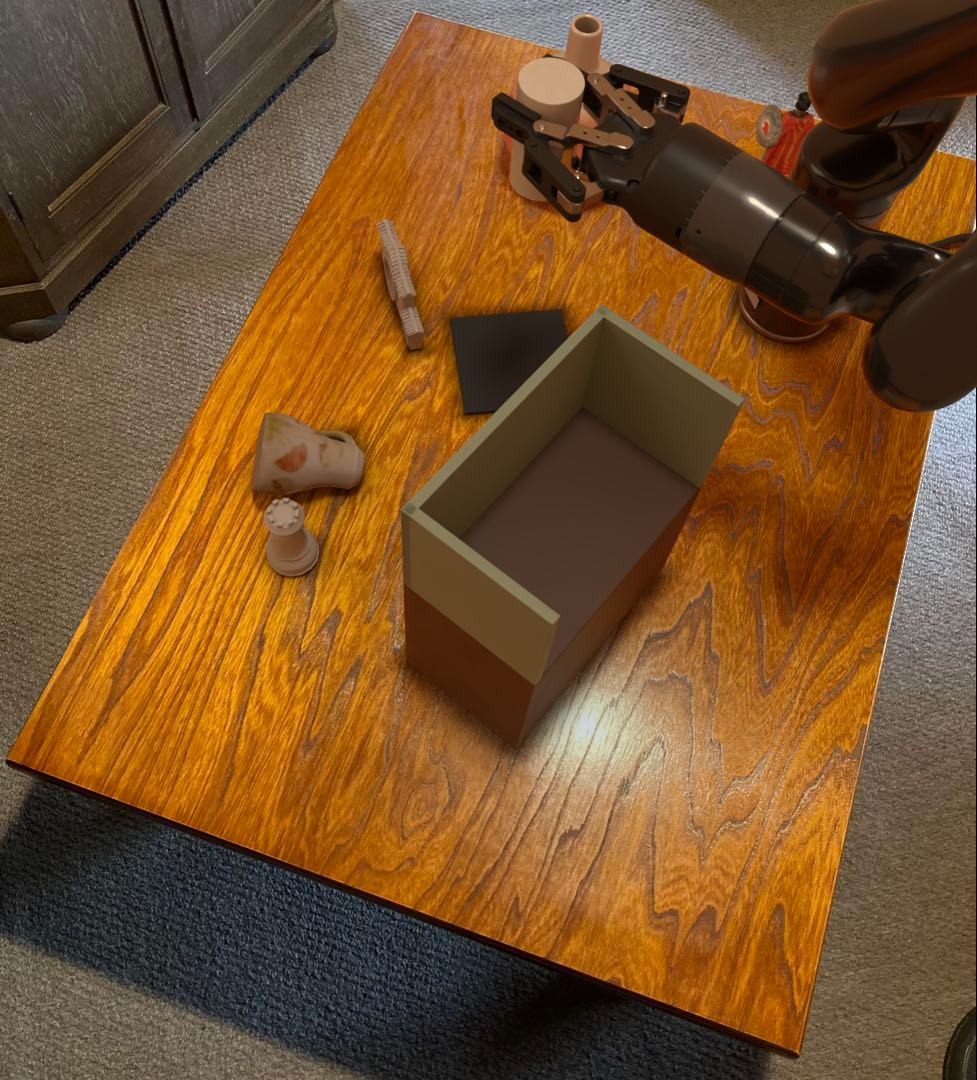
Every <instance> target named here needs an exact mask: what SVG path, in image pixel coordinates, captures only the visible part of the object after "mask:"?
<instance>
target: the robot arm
mask: <svg viewBox="0 0 977 1080" xmlns="http://www.w3.org/2000/svg"><path fill="white" fill-rule="evenodd" d="M541 58H558V59H562V60H565V59H563V58H560V57H556V56H555V57H554V56H552V55H551V54H550V53H545V54H544V55H543V56H542V57H541ZM565 61H566V60H565ZM576 67H577V66H576ZM577 68H578V67H577ZM578 69H579V70H580V71H581V73H582V74H583V76H584V79H585V89H584V95H583V101H582V103H583V108H584V110H585V111H586V112H587V113H588V114H589V115H590V116H591V117H592V118H593V119H594V121H595V122H596V123H597V125H598V126H596V127H594V128H590V127H587V126H584V125H580V124H577V123H573V124H571V125H570V126H563V125H560V124H557V123H553V122H550V121H547V120H543V119H541V115H540V114H538V113H537V112H535V111H533V110H531V109H529V108H528V107H527V106H525V105H523V104H522V103H520V102H518V101H517V100H515V99H513V98H512V97H510V95H508V94H506V93H505V92H503V91H500V92H498V93H497V94H496V95H495V96H494V97H492V99H491V109H490V110H491V111H490V116H491V117H490V118H491V120H492V121H493V122H492V124H493V125H494V127H495V128H496V129H497V130H499V131H500V132H501V133H503V134H504V133H505V134H507V135H509V136H510V137H511V138H513V139H515V140H516V141H518V142H519V143H521V144H523V145H524V158H523V164H522V174H523V175H524V176H525V178H526V179H527V180H528V181H529V182H530V183H531V184H532V185H533V186H534V187H535V188H536V189H537V190H538V191H539V192H540V193H541V194H542V195H543V196H544V197H545V198H546V199H547V200H548V201H547V202H549V204H550V205H551V206H552V207H553V208H554V209H555V210H556V212H558V213H559V214H560V215H561V216H562V217H563V218H564V220H565V221H567V222H569V223H577V222H579V221H580V220H581V219H582V217H583V216H582V215H583V212H584V210H585V209H587V208H589V207H591V206H593V205H595V204H597V203H598V202H601V203H603V204H606V205H612V206H616V207H618V208H622V209H623V210H625V211H626V213H627V214H628V216H629V217H630V218H631V220H632V222H633V223H634V224H635V225H636V226H637V227H638V228H640V229H641V230H643V231H645V232H646V233H647V234H649V235H651V236H653V237H654V238H656V239H658V240H659V241H660V242H663V243H664V244H666V245H667V246H669V247H670V248H672V249H673V250H675V251H677V252H679V253H680V254H682V255H683V256H685V257H687V258H688V259H690V260H691V261H693V262H694V263H697V265H700V266H701V267H703V268H704V269H706V270H707V271H709V272H711V273H713V274H714V275H716V276H718V277H720V278H723V279H724V280H727V281H730V282H732V283H734V284H737V285H738V286H740V288H739V291H738V306H739V310H740V313H741V314H742V316H743V318H744V320H745V321H746V322H747V323H748V325H749V326H751V327H752V329H754V330H755V331H757V332H758V333H760V334H761V335H762V336H764V337H767V338H769V339H771V340H774V341H778V342H783V343H790V344H791V343H793V344H794V343H797V344H798V343H803V342H807V341H811V340H813V339H815V338H817V337H819V336H820V335H821V334H823V332H825V330H826V329H827V328H830V327H836V326H837V325H838V324H839V322H840V320H841V318H842V317H852V318H855V319H858V320H861V321H863V322H866V323H869V324H872V326H871V327H870V329H869V331H868V333H867V335H866V337H865V339H864V342H863V345H862V351H861V359H860V360H861V372H862V375H863V378H864V381H865V383H866V386H867V387H868V389H869V390H870V391H871V393H872V394H873V395H874V396H875V398H877V399H878V400H879V401H880V402H881V403H883V404H885V405H886V406H889V407H891V408H893V409H895V410H898V411H901V412H907V413H914V414H917V413H919V414H920V413H930V412H935V411H939V410H942V409H946V408H948V407H950V406H951V405H954V404H956V403H958V402H960V401H961V400H962V399H964V398H965V397H966V396H968V395H969V394H970V393H972V392H973V391H974V390H975V389H976V388H977V226H976V227H975V229H974V230H973V231H972V233H971V232H965V233H960V234H959V233H958V234H955V235H951V236H949V237H945V238H943V239H939V240H937V241H934V242H931V243H928V244H926V243H923V242H920V241H917V240H914V239H911V238H908V237H904V236H902V235H898V234H896V233H891V232H888V231H883V230H880V229H881V227H882V225H883V224H884V222H885V220H886V218H887V216H888V214H889V212H890V210H891V208H892V207H893V205H894V204H895V201H896V200H897V198H898V196H899V195H900V193H902V192H903V191H904V190H906V189H907V188H908V187H909V186H911V185H912V184H913V183H914V182H915V181H916V180H917V179H918V178H919V177H920V175H921V174H922V172H923V171H924V169H925V168H926V166H927V164H928V163H929V161H930V160H931V158H932V157H933V155H934V154H935V152H936V150H937V149H938V147H939V146H940V144H941V143H942V141H943V140H944V138H945V136H946V135H947V133H948V132H949V130H950V129H951V127H952V125H953V124H954V122H955V121H956V119H957V117H958V116H959V114H960V112H961V111H962V110H963V107H964V105H965V102H966V101H967V99H968V98H969V96H977V0H872V1H868V2H865V3H860V4H857V5H852V6H850V7H847V8H846V9H843V10H842V11H840V12H839V13H838V14H837V15H835V17H833V18H832V19H831V20H830V21H829V22H828V23H827V24H826V26H825V27H824V29H823V30H822V31H821V33H820V34H819V36H818V38H817V40H816V42H815V45H814V47H813V49H812V52H811V55H810V58H809V62H808V67H807V76H806V78H807V79H806V80H807V83H806V84H807V92H808V93H809V97H810V100H811V106H812V107H813V110H814V111H815V113H816V114H817V116H818V117H819V119H821V121H818V123H816V124H814V127H813V128H812V129H811V130H810V131H809V132H808V133H807V134H806V136H805V137H804V139H803V141H802V143H801V145H800V147H799V149H798V152H797V154H796V157H795V159H794V161H793V164H792V166H791V169H790V171H789V174H788V176H787V177H786V176H785V175H783V174H782V173H781V172H779V171H778V170H776V169H774V168H773V167H771V166H769V165H768V164H766V163H764V162H762V161H761V159H759V158H758V157H756V156H754V155H752V154H750V153H749V152H747V151H745V150H744V149H742V148H740V147H738V146H737V145H735V144H733V143H731V142H730V141H729V140H726V139H724V138H723V137H721V136H719V135H718V134H717V133H714V132H713V131H711V130H709V129H708V128H706V127H704V126H702V125H700V124H699V123H696V122H694V121H693V122H686V123H683V122H684V119H685V116H686V115H685V114H686V111H687V108H688V103H689V101H690V96H691V89H690V88H689V87H687V86H686V85H683V84H680V83H677V82H674V81H671V80H669V79H665V78H662V77H659V76H658V75H653V74H651V73H647V72H645V71H643V70H639V69H635V68H632V67H630V66H627V65H625V64H621V63H614V64H613V65H612V66H611V67H610V70H609V72H607V73H605V74H602V75H601V74H599V73H591V74H589V73H587V72H585V71H583V70H582V69H580V68H578ZM624 84H626V85H629V86H631V88H636V89H637V91H638V94H637V93H636V92H635V93H634V92H633V93H632V92H629V91H626V90H623V87H624ZM549 140H550V141H554V142H557V143H560V144H562V146H563V149H562V148H559V147H556V146H552V145H549ZM578 144H581V145H583V150H582V156H581V159H580V158H579V157H578V156H577V148H578ZM583 179H584V180H587V181H589V182H586V181H584V180H583ZM961 242H964V243H963V244H962V245H961V246H960V247H959V248H958V249H957V250H956V251H955V252H954V253H953V252H950V251H947V250H945V249H942V248H945V247H947V246H950V245H954V244H958V243H961Z"/></svg>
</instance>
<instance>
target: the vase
mask: <svg viewBox="0 0 977 1080" xmlns="http://www.w3.org/2000/svg"><path fill="white" fill-rule="evenodd" d="M568 29H569V30H568V34H567V41H566V47H565V50H563V51H562V50H561V51H558V52H554V53H551V54H550V55H552V56H554V57H555V56H556V57H560V58H563V59H565V60H566V61H568V62H570V63H571V64H573V65H575V66H577V67H578V68H580V69H582V70H583V71H585V72H587V73H589V74H591V73H599V74H601V75H602V74H605V73H607V72H609V70H610V67H611V66H612V65H614V64H613V63H612V62H610V61H609V60H607V59H606V58H604V57H603V56H600V54H601V48H602V42H603V41H602V40H603V35H604V23H603V22H602V20H601V19H600V18H599V17H598V16H596V15H593V14H590V13H582V14H578V15H576V16H574V17H573V18H572V19H571V21H570V24H569V28H568ZM517 85H518V80H517V82H516V83H515V84H514V86H513V88H512V90H511V92H510V94H509V96H510V97H512V98H513V99H515V100H516V96H517ZM632 88H633V87H632V86H629V85H626V84H624V87H623V90H626V91H629V92H632V93H634V91H633V89H632ZM579 124H580V125H584V126H587V127H590V128H594V127H596V126H598V125H597V123H596V122H595V121H594V119H593V118H592V117H591V116H590V115H589V114H588V113H587V112H586V111H585V110H584V108H583V103H582V107H581V114H580V120H579ZM503 139H504V143H505V147H506V150H507V152H508V155H509V157H510V158H511V150H512V139H513V138H511V137H510V136H509V135H507V134H505V133H504V132H503ZM582 150H583V145H581V144H578V148H577V156H578V157H579V158H580V159H581V156H582ZM583 180H584V179H583ZM584 181H586V182H589V181H587V180H584Z"/></svg>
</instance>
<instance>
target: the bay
mask: <svg viewBox="0 0 977 1080" xmlns="http://www.w3.org/2000/svg"><path fill="white" fill-rule="evenodd" d="M745 399H746V398H744V397H743V396H742V395H740V394H739V393H737V392H736V391H734V390H732V389H731V388H729V387H728V386H727V385H725V384H723V383H722V382H721V381H719V380H717V379H716V378H714V377H713V376H711V375H710V374H708V373H707V372H705V371H704V370H703V369H701V368H699V367H698V366H696V365H695V364H694V363H692V362H690V361H689V360H687V359H686V358H684V357H683V356H681V355H679V354H678V353H677V352H675V351H674V350H673V349H671V348H669V347H668V346H666V345H664V343H661V342H660V341H659V340H657V339H655V338H654V337H652V336H651V335H649V333H647V332H645V331H643V330H642V329H640V328H639V327H638V326H636V325H635V324H633V323H632V322H630V321H628V320H627V319H625V318H624V317H623V316H620V315H619V314H618V313H617V312H615V311H613V310H612V309H610V308H608V307H607V306H606V305H604V304H603V303H601V304H600V305H599V306H597V308H596V309H595V310H594V311H593V312H592V313H591V314H590V315H589V316H588V317H587V318H586V319H585V320H584V321H583V322H582V323H581V325H579V326H578V327H577V329H576V330H575V331H573V333H572V334H571V335H569V337H568V339H567V340H566V341H565V342H564V343H563V344H562V345H561V346H560V347H559V348H558V349H557V350H556V351H555V352H554V353H553V354H552V355H551V356H550V357H549V358H548V359H547V360H546V361H545V362H544V363H543V364H542V365H541V366H540V367H539V368H538V369H537V370H536V371H535V372H534V373H533V375H532V376H531V377H530V378H529V379H528V380H527V381H526V382H525V383H524V384H523V385H522V386H521V387H520V388H519V389H518V390H517V391H516V392H515V393H514V394H513V395H512V396H511V397H510V398H509V399H508V400H507V401H506V402H505V403H504V404H503V405H502V406H501V407H500V408H499V409H498V410H497V411H496V412H495V413H492V415H491V416H490V417H489V418H488V419H487V420H486V421H485V422H484V423H483V424H482V426H480V427H479V428H478V430H476V432H474V433H473V434H472V436H471V437H470V438H468V440H466V441H465V443H464V444H463V445H462V446H460V448H459V449H458V450H457V451H456V452H455V453H454V454H453V455H451V457H450V458H449V459H448V460H447V461H446V462H445V463H444V464H443V465H442V466H441V467H440V468H439V469H438V470H437V471H436V472H435V474H434V475H432V476H431V477H430V478H429V479H428V481H426V482H425V484H423V486H422V487H421V488H420V489H419V490H418V491H416V493H414V495H412V497H411V498H410V499H409V500H408V501H406V503H405V504H404V505H403V506H402V507H401V508H400V529H401V530H400V531H401V532H400V533H401V558H402V560H401V561H402V583H403V609H404V612H403V613H404V615H403V616H404V638H405V639H404V641H405V662H406V663H407V664H408V665H410V666H411V667H412V668H413V669H415V670H416V671H417V672H419V674H421V675H422V676H423V677H425V678H426V679H427V680H428V681H429V682H430V683H432V684H433V685H434V686H436V687H437V688H438V689H439V690H440V691H442V692H443V693H444V694H446V695H447V696H448V697H450V698H451V699H452V700H453V701H454V702H455V703H457V704H458V705H459V706H461V707H462V708H463V709H464V710H466V711H467V712H468V713H469V714H471V715H472V716H473V717H474V718H476V719H477V720H478V721H479V722H481V723H482V724H483V725H484V726H486V727H487V728H488V729H489V730H491V732H493V733H494V734H496V735H497V736H498V737H499V738H500V739H501V740H503V741H504V742H505V743H506V744H508V745H509V746H510V747H512V748H513V749H514V750H517V749H518V748H519V746H520V745H521V744H522V743H523V742H524V740H526V739H527V737H528V736H529V734H530V733H531V732H532V731H533V730H534V728H535V727H536V726H537V724H538V723H539V722H540V721H541V720H542V719H543V717H544V716H545V714H546V713H547V712H548V711H549V710H550V709H551V707H552V706H553V705H554V704H555V702H556V701H557V700H559V697H560V696H561V695H562V694H563V693H564V692H565V690H566V689H567V688H568V687H569V685H570V684H571V683H572V682H573V680H574V679H575V678H576V677H577V676H578V674H579V673H580V672H581V671H582V670H583V668H584V667H585V666H586V665H587V663H588V662H589V661H590V660H591V658H592V657H593V656H594V655H595V653H597V651H598V650H599V649H600V647H601V646H602V645H603V644H604V642H605V641H606V640H607V639H608V637H610V635H611V634H612V633H613V631H614V630H615V629H616V628H617V627H618V626H619V624H620V623H621V622H622V621H623V619H624V618H625V617H626V616H627V614H628V613H629V612H630V611H631V610H632V609H633V607H634V606H635V605H636V603H637V602H638V601H639V600H640V598H641V597H642V596H643V595H644V594H645V592H646V591H647V590H648V589H649V587H651V585H652V584H653V583H654V581H655V580H656V579H657V578H658V577H659V575H660V574H661V573H662V571H663V569H664V567H665V565H666V564H667V561H668V559H669V558H670V555H671V553H672V551H673V548H674V547H675V544H676V542H677V541H678V538H679V536H680V534H681V532H682V530H683V527H684V526H685V524H686V522H687V519H688V518H689V515H690V514H691V512H692V510H693V507H694V505H695V503H696V501H697V499H698V497H699V495H700V492H701V491H702V488H703V487H704V484H705V482H706V481H707V480H708V479H707V478H708V477H709V474H710V472H711V470H712V469H713V466H714V464H715V462H716V460H717V458H718V455H719V453H720V452H721V450H722V448H723V446H724V443H725V441H726V439H727V438H728V436H729V433H730V431H731V429H732V427H733V425H734V422H735V421H736V419H737V417H738V415H739V413H740V411H741V408H742V407H743V404H744V403H745Z"/></svg>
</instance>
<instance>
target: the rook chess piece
mask: <svg viewBox="0 0 977 1080" xmlns="http://www.w3.org/2000/svg"><path fill="white" fill-rule="evenodd" d="M305 518H306V514H305V510H304V508H303V506H301V505H300V503H298V502H296V501H294V500H292V499H290V497H289V498H288V497H282V499H279V500H278V498H276V499H274V500H272V501H271V503H270V504H269V506H268V507H267V508H266V509H265V511H264V514H263V523H264V526H265V527H266V528H267V530H268V532H269V533H270V534H271V535H270V536H269V537H268V538H267V539H268V540H267V544H266V548H265V551H266V557H267V562H268V564H269V566H270V567H271V568H272V570H274V571H275V572H277V573H278V574H280V575H282V576H288V577H297V576H300V575H304V574H305V573H307V572H309V571H310V570H312V568H313V567H314V566H315V565H316V563H317V562H318V559H319V555H320V548H319V544H318V542H317V538H316V537H315V536H314V534H313V533H312V531H311V530H309V529H308V528H306V527H304V526H305V523H304V522H305Z"/></svg>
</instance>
